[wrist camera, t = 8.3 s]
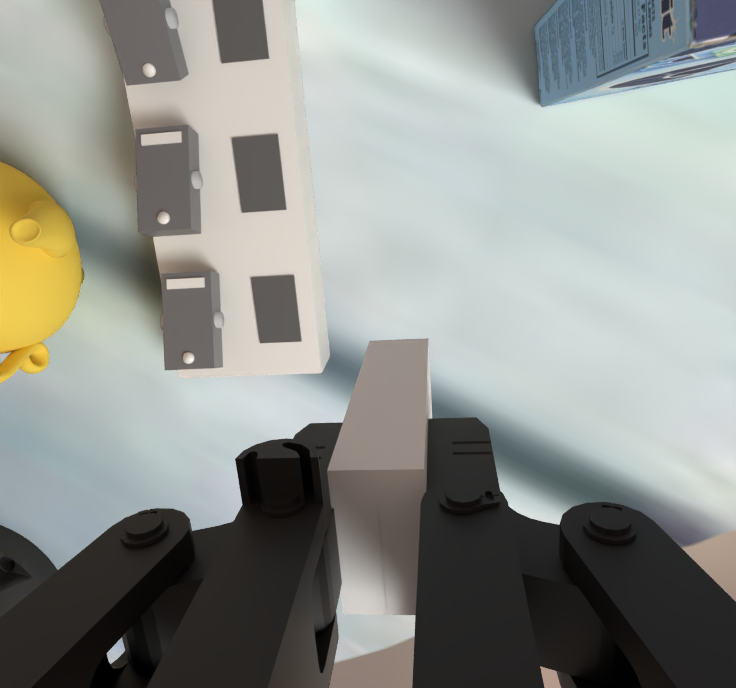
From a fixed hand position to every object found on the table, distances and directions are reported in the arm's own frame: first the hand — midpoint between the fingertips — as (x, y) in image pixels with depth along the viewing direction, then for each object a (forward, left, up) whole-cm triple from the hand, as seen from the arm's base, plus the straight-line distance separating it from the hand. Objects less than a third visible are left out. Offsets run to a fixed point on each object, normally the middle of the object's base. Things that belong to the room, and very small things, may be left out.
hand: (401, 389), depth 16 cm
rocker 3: (-15, -4, -21) cm, 26 cm away
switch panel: (-12, +5, -26) cm, 29 cm away
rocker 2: (-15, +5, -21) cm, 26 cm away
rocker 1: (-15, +14, -21) cm, 29 cm away
